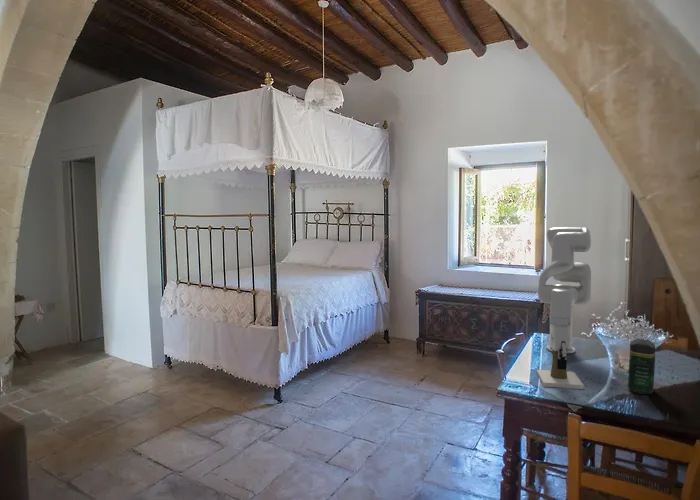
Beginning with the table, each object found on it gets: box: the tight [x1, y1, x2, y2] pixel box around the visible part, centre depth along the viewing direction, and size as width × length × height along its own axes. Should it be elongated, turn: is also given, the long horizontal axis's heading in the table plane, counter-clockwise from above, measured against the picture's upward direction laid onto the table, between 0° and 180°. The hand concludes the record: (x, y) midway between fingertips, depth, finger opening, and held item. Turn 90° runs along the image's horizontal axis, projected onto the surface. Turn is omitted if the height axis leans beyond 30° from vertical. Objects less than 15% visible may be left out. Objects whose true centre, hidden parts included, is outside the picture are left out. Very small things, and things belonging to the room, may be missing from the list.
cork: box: [550, 349, 568, 379], centre depth 173 cm, size 6×6×11 cm
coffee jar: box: [627, 338, 656, 395], centre depth 162 cm, size 10×8×19 cm
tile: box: [536, 369, 585, 390], centre depth 172 cm, size 14×14×2 cm
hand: (559, 365), depth 172 cm, fingers open, 6 cm apart
